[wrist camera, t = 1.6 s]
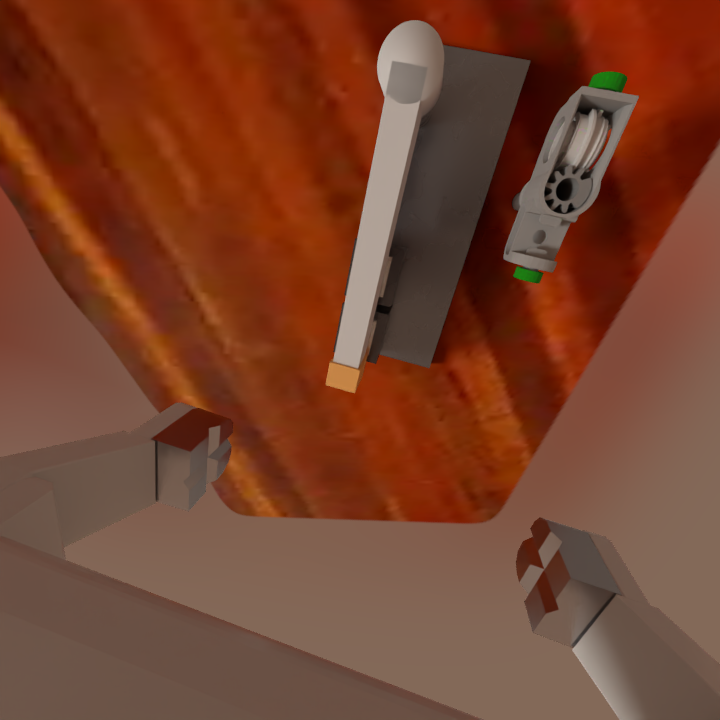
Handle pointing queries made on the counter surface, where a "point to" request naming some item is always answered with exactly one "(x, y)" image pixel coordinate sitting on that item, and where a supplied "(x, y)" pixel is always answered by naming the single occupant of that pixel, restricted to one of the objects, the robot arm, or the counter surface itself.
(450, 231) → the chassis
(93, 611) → the robot arm
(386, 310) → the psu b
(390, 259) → the block
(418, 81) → the lever
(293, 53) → the counter surface
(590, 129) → the mechanical component
